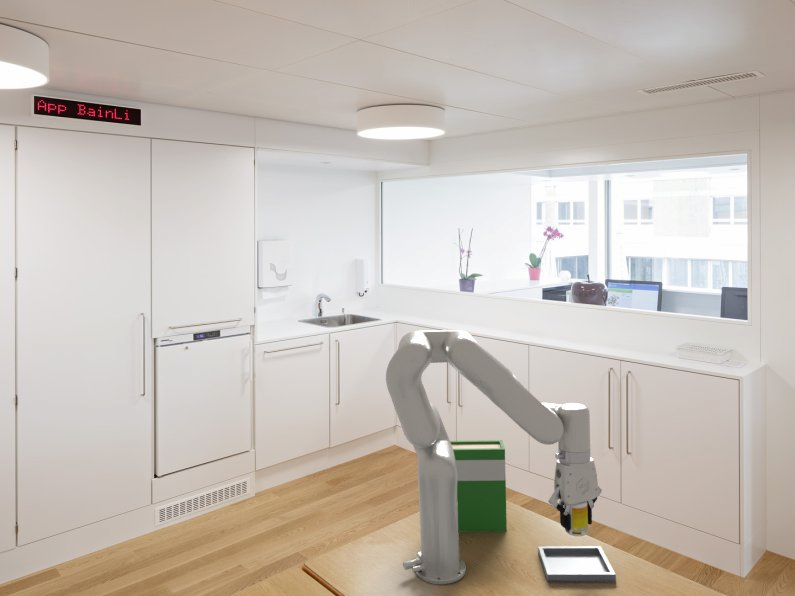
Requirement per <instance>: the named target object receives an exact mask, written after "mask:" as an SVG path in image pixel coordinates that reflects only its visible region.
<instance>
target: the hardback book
mask: <svg viewBox="0 0 795 596" xmlns="http://www.w3.org/2000/svg"><path fill="white" fill-rule="evenodd" d="M450 442H451V445H452V448H453V451H454V456H455V459H456V465H457V473H458V484H457V503H458V531H463V532H462V533H464V532H465V533H466V532H467V533H469V532H472V533H474V532H475V533H477V532H478V533H480V532H482V533H483V532H487V533H491V532H492V533H494V532H495V533H497V532H501V533H503V532H504V533H505V532H507V531H508V529H507V528H508V527H507V526H508V525H507V521H508V520H507V490H506V489H507V487H506V486H507V483H506V479H507V478H506V449H505V444H504V442H503V440H502V439H501V440H499V439H497V440H496V439H495V440H494V439H493V440H492V439H491V440H489V439H488V440H450Z"/></svg>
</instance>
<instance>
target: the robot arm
mask: <svg viewBox="0 0 795 596" xmlns="http://www.w3.org/2000/svg"><path fill="white" fill-rule="evenodd" d="M397 347H398V348H397V350H396V351H395V353H394V354H393V356H392V357H391V359H390V360H389V362H388V364H387V368H386V371H385V382H386V388H387V391H388V394H389V397H390V399H391V401H392V405H393V407H394V410H395V412H396V415H397V417H398V420H399V423H400V426H401V428H402V432H403V435H404V436H405V439H406V440H407V442H408V443H410V444H411V445H412V446H413V449H414V451H415V454H416V456H417V482H418V483H417V485H418V503H419V504H418V506H419V507H418V508H419V527H420V528H419V529H420V531H419V532H420V534H419V536H420V551H418V552H417V556H416V557H413V558H414V559H411V560H410V559H409V560H406V561H403V562H402V567H403V569H404V570H405V571H408V570H410V569H411V571H412V573H413V574H414V573H415V574H416V575H417V576H418V578H419V579H421V580H422V581H424V582H426V583H430V584H434V585H449V584H452V583H455V582H456V583H457V582H458V581H460V580H461V579H463V577H464V576H465V574H466V572H467V567H466V563H465V562H464V560H463V559H462V558H460V542H459V541H460V537H459V532H458V503H457V484H458V473H457V465H456V459H455V456H454V451H453V448H452V445H451V442H450V441H451V440H450V437H449V435H448V433H447V430H446V427H445V425H444V422H443V420H442V418H441V415H440V413H439V410H438V409H437V406H435V404H433V403H432V402H431V401H430V400H429V398H428V395H427V392H426V389H425V387H424V384H423V381H422V377H423V373H424V372H425V370H426V369H427V368H428V367H429V365H430V364H435V363H436V364H437V363H439V364H441V363H448V364H449V365H450V366H451V367H452V368H453V369H455V371H457V372H458V373H459V374H460V375H461V376H462V377H464V379H466V380H467V381H469V383H471V384H472V385H473V386H475V387H476V388H477V389H478V390H479V391H480V392H481V393H482V394H483V395H485V396H486V397H487V398H488V399H489V400H490V401H491V402H492V403H493V404H494V405H495V406H496V407H498V408H499V409H500V410H501V411H502V412H503V413H504V414H506V415H507V416H508V418H510V419H511V420H512V421H513V422H514V423H515V424H516V425H518V426H519V428H520V429H522V430H523V431H525V432H526V433H527V434H528V435H529V436H530V437H532V438H533V439H534V440H535V441H536V442H538V443H540V444H542V445H546V446H547V445H548V446H550V445H553V444H554V445H555V444H556V443H557V444H558V445H557V447H558V448H557V449H558V451H557V452H556V453H555V454H554V457H555V459H557V460H556V464H555V469H554V482H553V483H554V485H553V486H554V491H553V493H552V495H551V496H550V497H549V499H548V503H549V504H550V505H551V506H552V507H554V508H555V509H556V510H557V511H559V520H560V521H559V523H560V525H561V527H562V528H564V530H565V529H567V530H571V516H570V514H568V513H569V509H570V505H573V504H577V503H581V502H585V501H587V507H588V525H592V524H593V520H592V519H593V511H592V510H593V508H595V503H596V502H597V500H598V497H599V496H600V494H602V491H603V490H602V488H601V487H600V486H599V485H598V484H599V481H598V474H597V469H596V464H595V461H594V458H592V457H591V424H590V423H591V422H590V420H591V419H590V417H591V415H590V410H589V408H588V407H587V406H586V405H584V404H583V403H579V402H578V403H577V402H567V403H562V404H561V403H560V404H558V403H550V402H549V403H548V402H541V401H539V399H537V398H536V397H535V396H534V395H533V394H532V393H531V392H530V391H529V390H528V389H527V388H526V387H525V385H524V384H522V382H521V381H520V379H519V378H518V377H517V376H516V375H515V373H513V371H511V370H510V369H509V368H508V367H507V366H506V365H504V364H503V363H502V362H501V361H500V360H498V359H497V358H496V357H495V356H494V355H493V354H491V352H489V351H488V350H487V349H486V348H485V347H483V346H482V344H480V343H479V342H478V341H477V340H476V339H475V338H474V336H473V335H472V334H471V333H470V332H468V331H466V330H461V329H448V330H447V329H446V330H445V329H444V330H415V331H410V332H408V333H406V334H404V336H402V337H401V338H400V341H399V342H398V346H397ZM564 503H565V507H564Z"/></svg>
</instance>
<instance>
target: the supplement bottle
mask: <svg viewBox="0 0 795 596" xmlns="http://www.w3.org/2000/svg"><path fill="white" fill-rule="evenodd" d="M564 507H565V503H564ZM568 514H570V516H571V530H567V529H565V528H564V531H565V532H566V533H567V534H568V535H569V536H572V537H584V536H586V535H588V532H589V524H588V507H587V501H585V502H581V503H577V504H573V505H570V509H569V513H568Z"/></svg>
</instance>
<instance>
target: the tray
mask: <svg viewBox="0 0 795 596" xmlns="http://www.w3.org/2000/svg"><path fill="white" fill-rule="evenodd" d="M537 551H538V557H539V560H540V563H541V567H542V569H543V572H544V575H545V578H546V580H547V583H617V574H616V572H615V571H614V568H613V567H612V565H611V563H610V561H609V559H608V556H606V554H605V552H604V550H603V548H602V546H601V545H575V546H574V545H570V546H569V545H566V546H565V545H561V546H560V545H557V546H555V545H554V546H553V545H550V546H549V545H547V546H546V545H543V546H541V545H540V546H539V545H538V546H537Z"/></svg>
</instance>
